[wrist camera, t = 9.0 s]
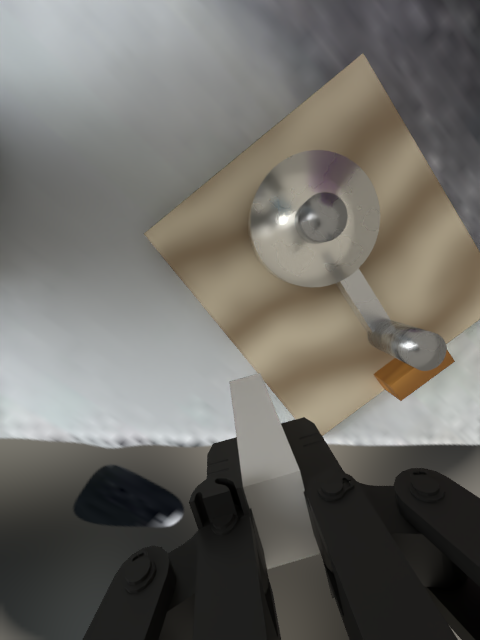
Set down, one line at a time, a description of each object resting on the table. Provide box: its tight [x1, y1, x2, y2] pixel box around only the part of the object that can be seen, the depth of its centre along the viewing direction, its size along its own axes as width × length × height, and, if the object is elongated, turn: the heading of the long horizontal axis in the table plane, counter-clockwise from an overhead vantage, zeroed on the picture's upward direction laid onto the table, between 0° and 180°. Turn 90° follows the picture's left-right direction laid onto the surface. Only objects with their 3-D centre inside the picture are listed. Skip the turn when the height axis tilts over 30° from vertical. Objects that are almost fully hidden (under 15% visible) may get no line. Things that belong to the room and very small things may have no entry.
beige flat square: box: [144, 54, 480, 436], centre depth 23 cm, size 22×20×4 cm
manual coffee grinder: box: [248, 150, 447, 371], centre depth 20 cm, size 16×9×6 cm, turn 36°
